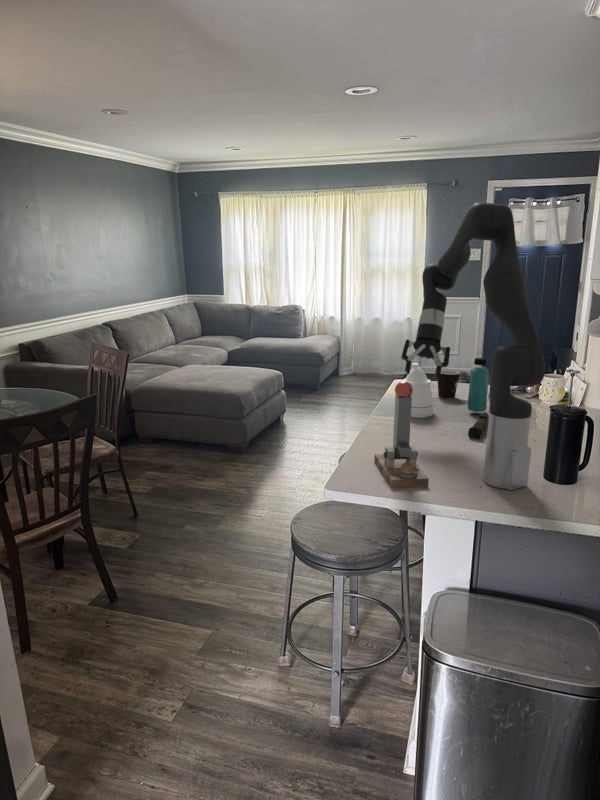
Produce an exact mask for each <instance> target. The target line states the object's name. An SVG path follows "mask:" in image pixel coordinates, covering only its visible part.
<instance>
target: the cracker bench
mask: <svg viewBox="0 0 600 800" xmlns="http://www.w3.org/2000/svg"><path fill="white" fill-rule="evenodd" d="M410 446H411V447H412V450H411V457H408V459H395V451H394V449H393V446H384V452H383V453H375V454H374V459H373V460H374V463H375V464H376V466H377V469H379V471H380V473H381V474H382V475H383V477H384V479H385V480H386V482H387V483H388V485H389V487H390V488H392V489H393V488H395V489H396V488H422V487H425V488H426V487H429V479H430V478H429V477H428V476H427V474H426V473H425V472H424V471H423V470H422V468H421V467H420V466H419V465H418V464H417V460H418V459H417V457H418V456H419V452H418V450H417V449H416V448H415V447H414V446H413V445H410Z"/></svg>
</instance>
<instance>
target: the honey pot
mask: <svg viewBox="0 0 600 800" xmlns="http://www.w3.org/2000/svg"><path fill="white" fill-rule="evenodd" d="M402 381H406V382H409V383H410V384H411V385H412V387H413V393H412V395H411V397H412V405H411V418H428V417H427V416H429V417H431V416H433V415H434V402H435V400H434V397H433V392H432V389H431V387H430V385H431V383H432V381H431V379H428V376H427V375H426V373H425V372H424V370H423V369H422V368H421V367H420V364H419V363H414V362H413V363H412V362H411V369H410V373H409V374H406V377H405V378H403V379H402V380H401V382H402Z"/></svg>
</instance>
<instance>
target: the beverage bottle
mask: <svg viewBox="0 0 600 800" xmlns="http://www.w3.org/2000/svg"><path fill="white" fill-rule="evenodd" d="M473 365H475V366H474V367H472V368H471V369H470V371H469V372H470V374H469V384H468V386H469V387H468V397H467V410H468V411H470V412H474V413H475V412H476V413H485V412H486V410H487V403H488V395H489V393H488V392H489V391H488V390H489V389H488V386H489V376H490V371H489V370H488V369H487V367H483V366H487V358H484V357H476V358H474V362H473Z"/></svg>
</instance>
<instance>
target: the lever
mask: <svg viewBox="0 0 600 800" xmlns="http://www.w3.org/2000/svg"><path fill="white" fill-rule="evenodd" d="M394 393H395V397H394V398H395V400H394V401H395V402H394V419H393V439H392V441H393V443H392V448H393V449H394V451H395V459H408V457H411V450H412V447H411V446H412V445H410V441H411V439H410V437H411V421H412V420H411V419H412V417H411V405H412V397H411V395H412V393H413V387H412V385H411V384H410V383H409V382H406V381H402V380H401V381H400V382H398V383H396V385H395V387H394Z"/></svg>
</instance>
